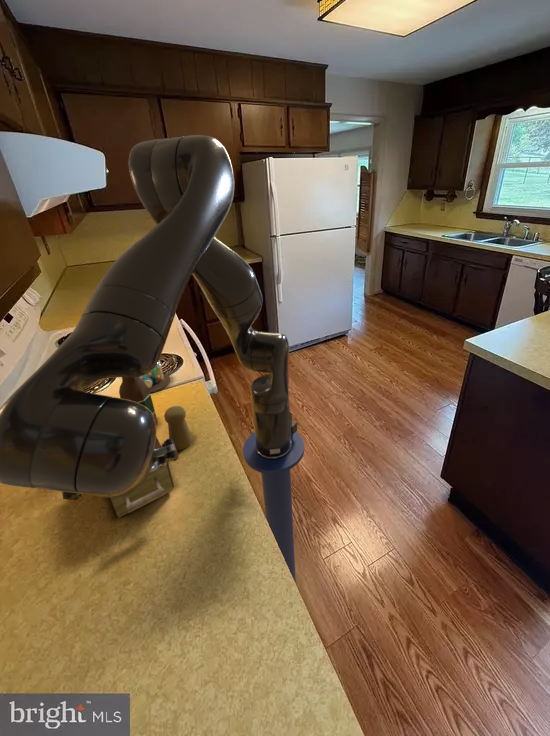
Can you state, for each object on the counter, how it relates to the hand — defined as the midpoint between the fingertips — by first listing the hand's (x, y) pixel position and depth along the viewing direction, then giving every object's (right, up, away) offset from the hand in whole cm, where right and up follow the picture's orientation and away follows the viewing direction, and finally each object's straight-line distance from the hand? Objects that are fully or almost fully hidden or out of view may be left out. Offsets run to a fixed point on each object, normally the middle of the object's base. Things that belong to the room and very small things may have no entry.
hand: (130, 472), depth 52 cm
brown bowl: (-25, +5, +64) cm, 69 cm away
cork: (-5, -7, +38) cm, 39 cm away
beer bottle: (-18, -5, +44) cm, 48 cm away
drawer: (-9, -14, +23) cm, 28 cm away
